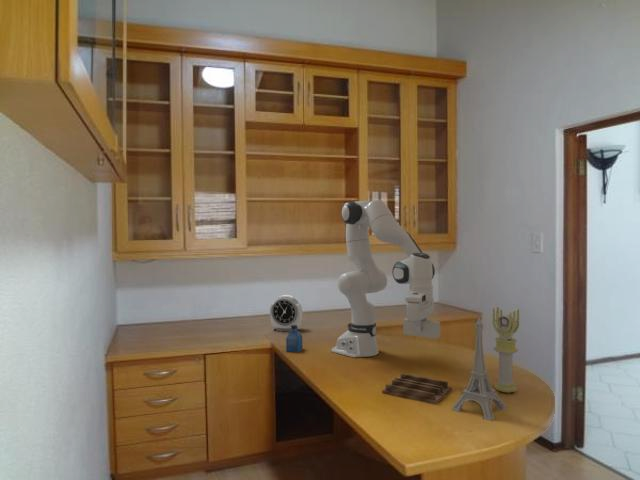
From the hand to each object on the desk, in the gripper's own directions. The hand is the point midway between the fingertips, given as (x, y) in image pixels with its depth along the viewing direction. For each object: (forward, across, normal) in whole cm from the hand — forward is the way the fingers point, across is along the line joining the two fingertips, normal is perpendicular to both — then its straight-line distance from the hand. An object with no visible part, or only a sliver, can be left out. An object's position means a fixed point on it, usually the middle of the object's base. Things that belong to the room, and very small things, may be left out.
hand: (421, 329), depth 180 cm
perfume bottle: (+19, -7, -67) cm, 70 cm away
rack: (+19, +14, +4) cm, 24 cm away
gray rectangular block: (+2, 0, 0) cm, 2 cm away
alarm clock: (+19, -39, -96) cm, 106 cm away
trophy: (+20, -3, +31) cm, 36 cm away
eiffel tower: (+20, +18, +27) cm, 38 cm away
